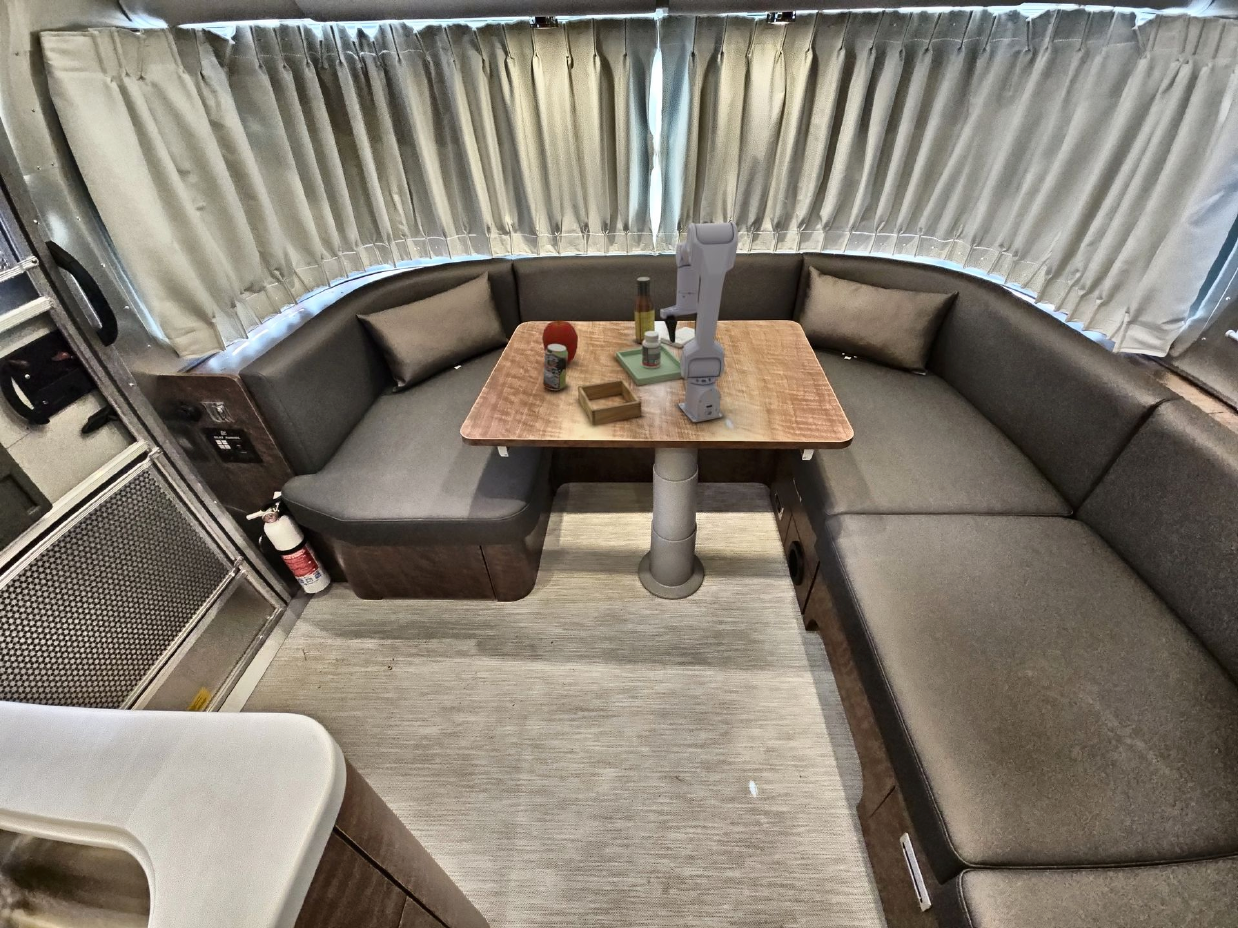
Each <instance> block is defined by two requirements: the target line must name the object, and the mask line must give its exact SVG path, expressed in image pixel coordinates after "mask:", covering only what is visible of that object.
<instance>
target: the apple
mask: <svg viewBox="0 0 1238 928" xmlns="http://www.w3.org/2000/svg"><path fill="white" fill-rule="evenodd" d="M541 339H542V344H543V349H544V351H545V350H546V349H547V348H548V345H550V344H560V345H563V346H565V347H566V350H567V352H568V359H567V365H568V364H569V363H571V362H572V361H574V359H575V357H576V354H577V350H578V345H579V343H578V342H579V336H578V333H577V331H576V329H575V327H574V325H572V324H571V323H570V322H569V321H564V320H559V319H557V320H553V321H551V322H548V324H547V325H546V326H545V327H544V328H543V333H542V337H541Z"/></svg>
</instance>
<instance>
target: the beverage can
mask: <svg viewBox="0 0 1238 928" xmlns="http://www.w3.org/2000/svg"><path fill="white" fill-rule="evenodd" d="M567 359H568V352H567V350H566V347H565V346H563V345H560V344H550V345H548V348H547V349H546V350H544V364H543V365H544V366H543V378H542V379H543V381H542V384H543V386H544V387H546V389H548V390H551V391H559V390H562V389H563V388H565V387H566V382H567V381H566V380H567V369H568V364H567Z"/></svg>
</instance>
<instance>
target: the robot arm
mask: <svg viewBox="0 0 1238 928" xmlns="http://www.w3.org/2000/svg"><path fill="white" fill-rule="evenodd" d="M738 232H739V231H738V226H737V224H736V223H735V221H729V222H709V223H694V222H691V223H689V226H687V230H686V240H685V241H684V242H679V241H678V242H677V244H676V247H675V263H676V267H677V276H676V277H677V278H676V294H675V295H676V297H675V298H676V300H675V305H672V306H668V307H666V308H661V309H660V311H659V315H660V316H659V317H660V318H661V319H662V320H663V322H664V325H665V326H666V329H667V333H668V334H669V338H670V341H671V342H672V343H675V333H676V331H677V325H678V320H676V317H678V316H679V317H680V316H685V315H692V314H694V329H695V338H694V339H693V340H692V341H690V342H689V343H687V344H686V345H684V346H683V347H682V350H681V351H682V353H681V355H680V359H679V360H680V370H681V375H682V377H683V378H682V379H685V388H684V389H685V391H684V394H685V395H684V402H680V403H677V404H678V405H677V406H678V407H679V409H681V410H682V412H683V413H684V414H685V415H686V416H687V418H689V420H690V421H691V422H692V423H699V422H705V421H711V420H716V419H721V418H723V414H722V413H721V412H720V410H721V401H722V395H721V391H720V390H719V389H718V387H717V382H718V381H719V378H721V377H722V375H724V373H725V357H726V353H725V349H724V347H723V345H722V344H721V342H719V341H718V340H716V334H717V328H718V321H719V313H720V306H721V300H722V292H723V286H724V282H725V277H726V273H727V272H728V271H730V270H731V269H733V268H734V264H735V263H736V257H737V251H738V244H739V233H738Z"/></svg>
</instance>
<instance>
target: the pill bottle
mask: <svg viewBox="0 0 1238 928" xmlns="http://www.w3.org/2000/svg"><path fill="white" fill-rule="evenodd" d="M659 335H660V334H659V332H657V331H656V330H655V331H648V332H645V336H644V338H645V340H644V341H643V342H642V344H641V348H642V365H643V367H645V368H648V369H654V368H657V367H659V366H660V359H661V345H662V342H661V339H659V337H660V336H659Z"/></svg>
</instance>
